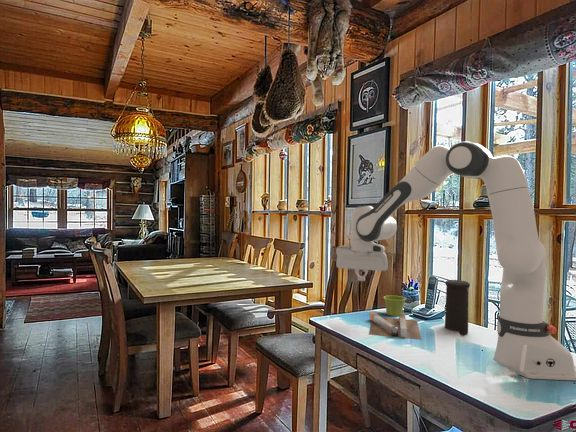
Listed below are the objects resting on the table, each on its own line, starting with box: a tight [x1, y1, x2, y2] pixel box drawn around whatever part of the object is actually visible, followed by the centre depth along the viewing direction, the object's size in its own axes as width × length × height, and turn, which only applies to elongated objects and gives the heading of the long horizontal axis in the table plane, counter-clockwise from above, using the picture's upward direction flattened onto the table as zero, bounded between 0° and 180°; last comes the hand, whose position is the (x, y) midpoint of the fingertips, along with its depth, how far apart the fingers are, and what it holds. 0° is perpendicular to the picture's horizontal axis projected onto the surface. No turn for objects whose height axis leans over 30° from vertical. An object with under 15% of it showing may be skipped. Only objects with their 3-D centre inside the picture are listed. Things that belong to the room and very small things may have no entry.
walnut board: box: [368, 316, 422, 341], centre depth 147 cm, size 18×25×2 cm
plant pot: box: [383, 295, 407, 317], centre depth 167 cm, size 9×9×9 cm
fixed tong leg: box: [398, 313, 408, 339], centre depth 145 cm, size 2×22×3 cm, turn 165°
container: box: [444, 279, 471, 336], centre depth 147 cm, size 9×9×20 cm
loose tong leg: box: [369, 312, 398, 336], centre depth 146 cm, size 2×22×3 cm, turn 10°
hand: (361, 280), depth 153 cm, fingers closed
